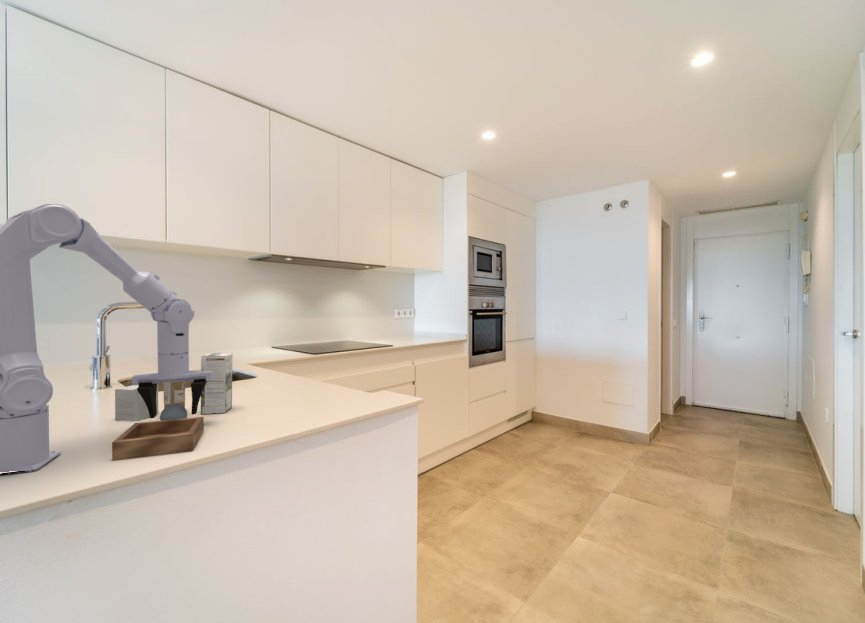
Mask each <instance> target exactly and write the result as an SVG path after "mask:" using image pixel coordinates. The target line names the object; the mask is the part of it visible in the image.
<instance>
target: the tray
mask: <svg viewBox="0 0 865 623" xmlns="http://www.w3.org/2000/svg"><path fill="white" fill-rule="evenodd" d="M204 420H205V417H204V416H196V417H187V418H184V419H173V420H162V421H160V420H153V421H152V420H151V421H143V422H135V423H133V424H132V425H131V426H130V427H128V429H126V430H125V431H124V432H122V433H121V434H120V435H119V436H118V437H117V438H116V439H114V440H113V441H112V443H111V451H112V452H111V454H112V455H111V461H118V460H125V459H135V458H143V457H151V456H161V455H167V454H179V453H185V452H193V451H194V450H195V447H197V444H198V442H199V440H200V439H201V437H202V435H203V433H204V431H205V428H204V424H205V422H204Z"/></svg>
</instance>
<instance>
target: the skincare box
mask: <svg viewBox="0 0 865 623" xmlns="http://www.w3.org/2000/svg"><path fill="white" fill-rule="evenodd" d="M138 386H139V385H133V386H132V384H131V385H128V386H123V387H120V388H115V389H114V420H115V421H128V420H129V421H132V422H133V421H134V422H139V421H142V420H146V419H147V418H150V415H149V411H148V409H147V406H146V404H145V402H144V400H143V398H142V397H141V395H140V394H139V393H138V391H137V388H138ZM156 407H157V415H158V414H159V384H157V391H156Z"/></svg>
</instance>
